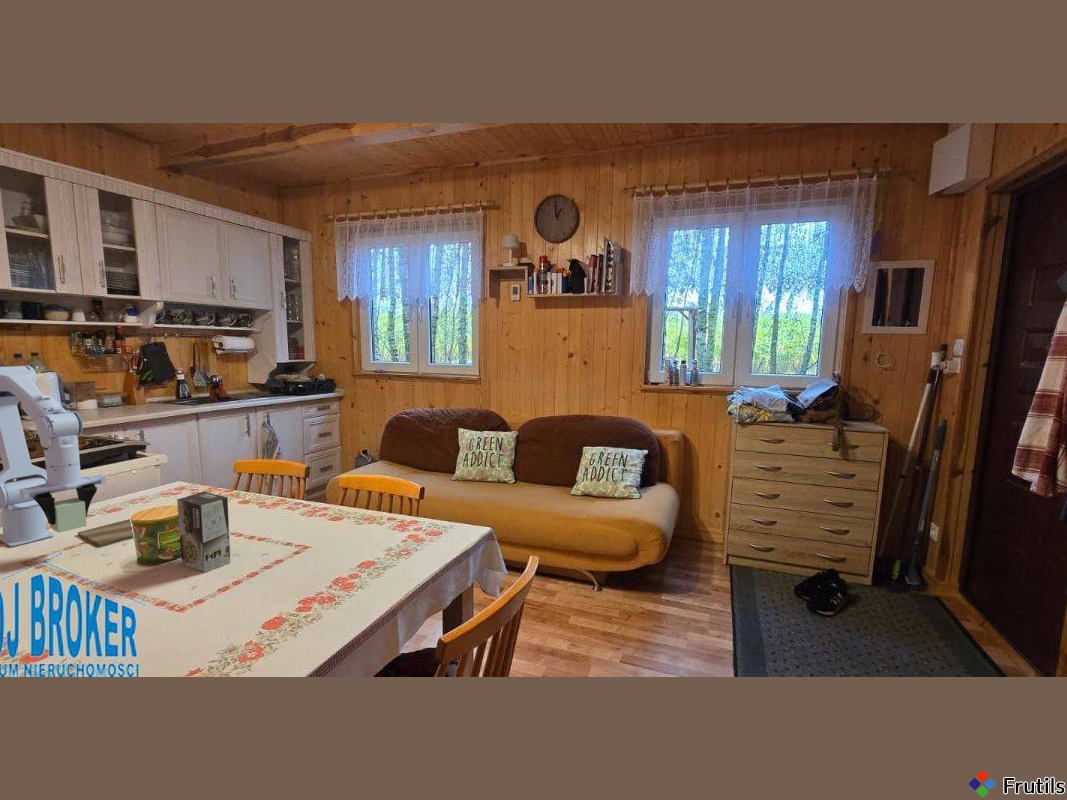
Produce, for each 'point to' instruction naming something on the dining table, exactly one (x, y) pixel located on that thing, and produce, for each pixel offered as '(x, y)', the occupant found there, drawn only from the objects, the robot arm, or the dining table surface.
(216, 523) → the coffee box
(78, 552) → the dining table surface
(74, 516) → the sage block
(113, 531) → the walnut base board
